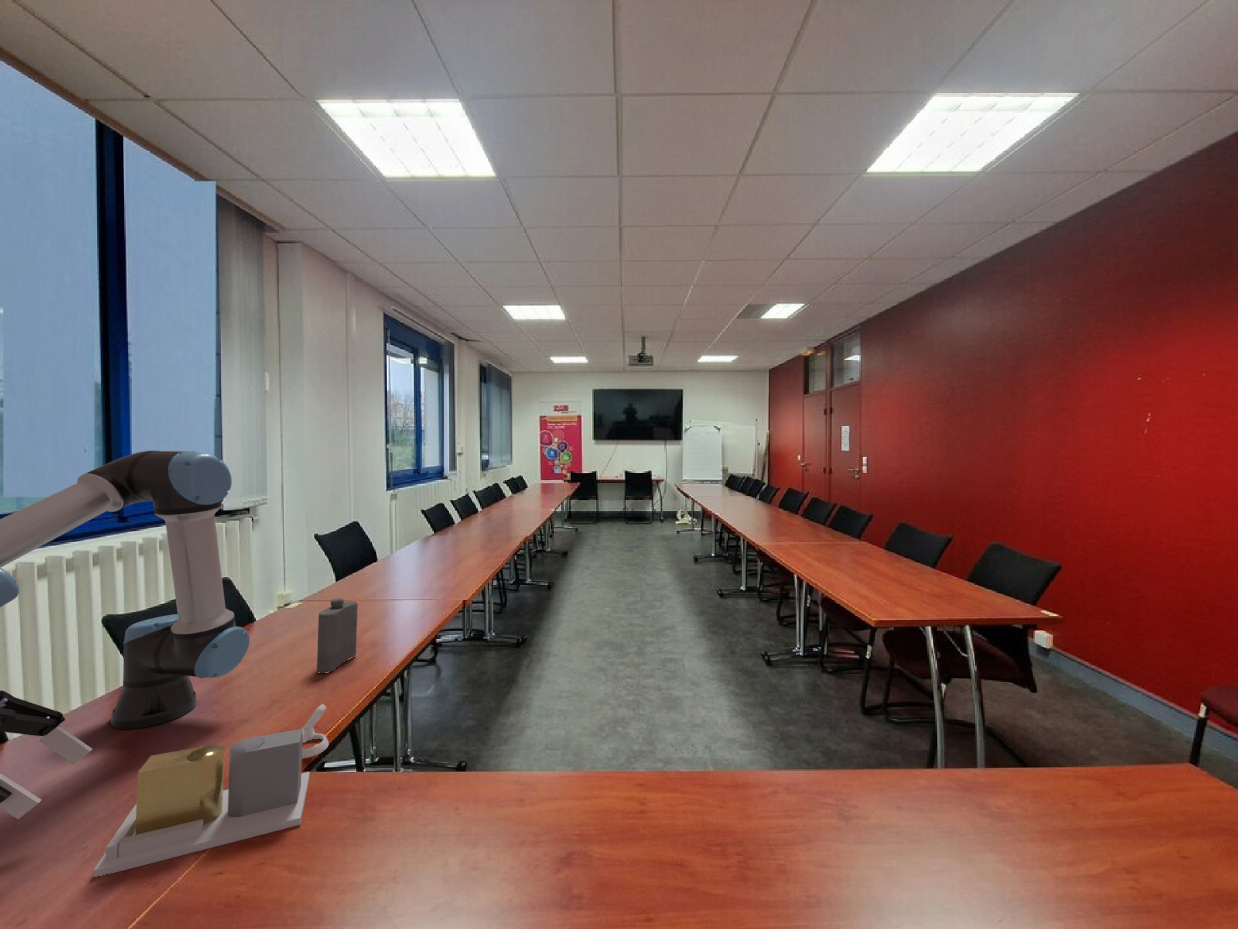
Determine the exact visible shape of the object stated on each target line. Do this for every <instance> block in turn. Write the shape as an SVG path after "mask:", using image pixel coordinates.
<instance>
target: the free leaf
mask: <svg viewBox="0 0 1238 929" xmlns="http://www.w3.org/2000/svg"><path fill="white" fill-rule="evenodd" d="M224 771H225V745H223V744H209V745H205V746H198V747H192V748H188V749H187V748H186V749H182V750H175V751H169V752H165V753H159V754H155V755H154V754H153V755H150V756H149V758H148V759H147V760H146V761H145V763H144V764H143V765H142V766H141V768H140V769H139V770H138V772H137V777H136V778H137V780H136V803H137V805H136V804H135V805H136V832H135V835H138V834H142V833H147V832H151V831H155V830H159V829H164V828H168V827H172V826H176V825H180V824H185V823H189V822H193V821H197V820H202V819H203V825H205V824H208V823H210V822H212V821H213V820H215V819H216V818H218V817H219V816H220V815H221V813H222V806H223V790H224V773H225V772H224Z"/></svg>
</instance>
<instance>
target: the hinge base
mask: <svg viewBox="0 0 1238 929" xmlns="http://www.w3.org/2000/svg"><path fill="white" fill-rule="evenodd" d="M302 741H303V729H302V728H299V729H293V730H287V731H282V732H277V733H271V734H266V735H265V734H264V735H260V736H254V737H249V738H246V739H242V740H240V741H238V742H236V743H234V744H233V745H232V746H230V749H229V764H228V765H229V766H228V768H229V769H228V789H223V806H222V813H221V815H220V816H219V817H218V818H216V819H215V820H213V821H212V822H210V823H208V824H205V825H203V819H202V820H197V821H193V822H189V823H185V824H180V825H176V826H172V827H168V828H164V829H159V830H155V831H151V832H147V833H142V834H138V835H135V832H136V805H137V802H136V803H135V805H133V808H132V809H131V810H130V812H129V813H128V814H127V816H126V818H125V819H124V821H123V822H122V823H121V825H120V826H119V828H118V829H117V831H116V833H115V834H114V835H113V837H112V838H111V839H110V841H109V843H108V844H107V846H106V847H105V853H104V854H103V856H102V857H101V859H100V860H99V861H98V863H97V865H95V867H94V869H93V877H96V876H100V877H104V876H107V875H106V874H108V875H111V874H114V873H119V872H122V871H126V870H130V869H134V868H138V867H142V866H146V865H150V864H153V863H158V862H162V861H165V860H168V859H169V860H171V859H173V858H176V857H180V856H184V855H189V854H192V853H196V852H200V851H203V850H208V849H211V848H215V847H221V846H224V845H229V844H231V843H235V842H238V841H242V840H247V839H250V838H254V837H258V836H261V835H262V836H263V835H266V834H269V833H274V832H277V831H281V830H285V829H290V828H294V827H298V826H301V824H302V823H301V822H302V817H303V813H304V808H305V802H306V798H307V793H308V788H309V782H310V774H311V772H310V771H306V772H303V773H302V770H303V769H302V765H303V764H302V762H303V759H302V749H303V743H302ZM110 873H111V874H110ZM103 875H104V876H103ZM96 878H97V877H96Z"/></svg>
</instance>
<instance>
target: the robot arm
mask: <svg viewBox="0 0 1238 929" xmlns="http://www.w3.org/2000/svg"><path fill="white" fill-rule="evenodd" d="M232 480H233V478H232V474H231V472H230V469H229V467H228V466H227V465H226V463H225V462H224V461H223V460H222V459H220V458H219V457H217V456H216V455H213V454H211V453H207V452H206V453H205V452H200V451H194V450H193V451H192V450H191V451H189V450H188V451H186V450H185V451H184V450H181V451H180V450H177V451H175V450H172V451H171V450H145V451H138V452H135V453H132V454H128V455H125V456H123V457H120V458H117V459H115V460H112V461H110V462H108V463H105V464H104V465H101V466H99V467H95V468H94V469H92V470H91V471H88V472H85V473H84V474H81V475H80V476H78V478H77V481H76V483H75V484H72V485H70V486H69V487H65V488H64V489H62V490H60V491H58V492H55V493H53V494H51V495H49V496H47V497H45V498H42V499H40V500H38V501H37V502H36V501H35V503H32V504H30V505H28V506H26V507H23V508H22V509H19V510H17V511H15V512H13V513H11V514H9V515H7V516H5V517H3V518H0V608H2V607H4V606H5V605H7V604H8V603H10V602H12V601H14V600H15V599H16V598H17V597H18V596H19V593H20V586H19V584H18V583H17V581H16V579H15V578H14V577H13V576H12V575H11V574H10V573H9V572H8V571H6V570H5V569H4V568H3V567H4V566H6V565H9V564H10V563H12V562H14V561H15V560H17V559H19V558H21V557H23V556H25V555H27V554H29V553H31V552H32V551H34V550H36V549H37V548H40V547H43V546H44V545H46V544H48V543H49V542H51V541H54V540H55V539H56V538H58V537H60V536H62V535H64V534H67V533H68V532H70V531H72V530H74V529H75V528H77V527H79V526H81V525H83V524H84V523H87V522H89V521H90V520H92V519H94V518H97V517H98V516H100V515H102V514H104V513H105V512H111V513H113V512H118V511H119V510H122V509H123V508H125V507H128V506H130V505H132V504H137V503H142V502H152V503H153V504H152V505H153V509H154V510H153V512H154V515H155V516H156V517H158V518H160V519H163V520H164V523H165V530H166V537H167V544H168V551H169V557H170V559H169V560H170V566H171V574H172V581H173V589H174V590H173V591H174V594H175V595H174V596H175V603H176V611H177V613H176V614H169V615H162V616H157V617H153V618H148V619H144V620H141V621H138V622H136V623H133V624H131V625H129V626H128V628H127V629H126V630H125V633H124V639H123V640H124V641H123V643H122V644H123V668H122V669H123V672H122V674H123V675H122V679H123V680H122V689H121V692H120V694H119V696H118V698H117V701H116V705H115V707H114V708H113V709H112V711H111V715H110V725H111V726H112V727H113V728H116V729H118V730H132V729H134V730H135V729H141V728H148V727H151V726H156V725H160V724H164V723H167V722H170V721H172V720H175V719H178V718H180V717H182V716H184V715H186V714H187V713H189V712H191V711H192V710H193V709H194V708H195V707H196V706H197V693H196V691H195V690H194V687H193V683H192V681H191V678H190V677H195V678H197V679H198V678H199V679H206V678H209V679H210V678H211V679H216V678H220V677H223V676H225V675H228V674H229V673H231V672H232V671H233V670H235V669H237V667H238V666H239V664H240V663H241V662H242V660H243V658H244V657H245V656H246V654H247V652H248V650H249V646H250V634H249V632H248V631H247V630H246V629H245V628H243V627H241V626H236V620H235V613H234V611H232V610H229V609H228V608H226V602H225V594H224V585H223V577H222V569H221V568H222V567H221V559H220V551H219V550H220V549H219V543H218V542H219V541H218V535H217V533H218V532H217V526H216V518H215V515H216V513H217V512H218V511H219V510H220V509H221V508H222V500H224V499H225V498H226V497H227V496H228V495H229V493H228V491H230V490H231V488H232V482H233V481H232ZM65 720H66V718H65V717H64V714H63V713H62V712H61V711H58V710H55V709H52V708H50V707H49V708H48V707H45V706H43V705H39V704H37V703H34V702H30V701H27V700H24V699H20V698H18V697H16V696H14V695H12V694H11V693H8V692H7V691H5V690H0V732H1V733H9V734H18V735H24V736H25V735H26V736H27V735H28V736H34V737H35V736H36V737H42V738H40V739H39V740H38V742H40V743H41V744H42V745H44V746H45V747H47V748H48V749H49V750H52V751H53V752H55V753H56V754H57V755H58V756H60V757H62V758H63V759H65V760H67V761H68V762H69V763H70V764H72V765H75V764H76V763H77V762H79V761H80V760H81V759H83V758H84V757H85V756H86V755H88V754H89V753H91V751H92V750H93V748H92V747H91V746H89V745H87V744H86V743H84V742H83V741H82V740H80V739H79V738H78V737H76V736H75V735H74V734H72V733H71V732H69V731H68V730H67V729H65V728H64V727H62V726H61V724H62V723H63V722H65ZM41 801H42V799H41V798H39V797H38V796H36V795H35V794H34V793H32V792H30V791H29V790H27V789H25V788H24V787H23V786H21V785H19V784H17V783H16V782H15V781H13V780H11V779H10V778H8V777H7V776H5V775H4V774H2V773H0V809H1V810H2V811H4V812H6V813H7V814H9V815H10V816H12V817H13V818H15V819H17V820H19V819H21V817H23V816H25V814H27V813H28V812H29V811H31V810H32V809H33V808H35V807H36V806H37V805H38V804H39V803H40V802H41Z"/></svg>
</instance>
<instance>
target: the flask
mask: <svg viewBox="0 0 1238 929" xmlns="http://www.w3.org/2000/svg"><path fill="white" fill-rule="evenodd" d="M358 605H359V603H358V602H357V601H345V600H344V599H343V598H340V597H339V598H333V599H332V600H331V601H330V606H329V607H327V608H325V609H323V610H321V611H320V612H319V613H318V624H317V625H318V626H317V627H318V629H317V650H316V651H317V655H316V656H317V658H316V659H317V660H316V673H317V672H320V673H325V672H329V671H333V670H334V671H336V670H337V669H336V667H338V666H339V665H340V664H342V663H343V662H344V661H347V660H348V659H349V658H351V657H354V656H355V655H356V656H357V633H358V607H359V606H358ZM347 662H348V661H347ZM343 664H344V663H343ZM343 664H342V665H343ZM340 666H341V665H340ZM340 666H339V667H340ZM339 667H338V668H339ZM334 671H333V672H334Z"/></svg>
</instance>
